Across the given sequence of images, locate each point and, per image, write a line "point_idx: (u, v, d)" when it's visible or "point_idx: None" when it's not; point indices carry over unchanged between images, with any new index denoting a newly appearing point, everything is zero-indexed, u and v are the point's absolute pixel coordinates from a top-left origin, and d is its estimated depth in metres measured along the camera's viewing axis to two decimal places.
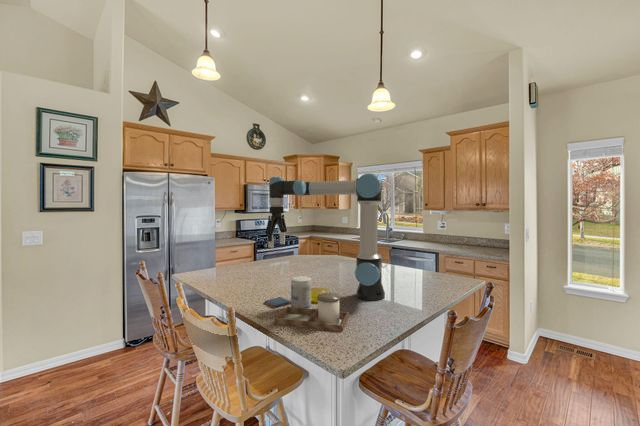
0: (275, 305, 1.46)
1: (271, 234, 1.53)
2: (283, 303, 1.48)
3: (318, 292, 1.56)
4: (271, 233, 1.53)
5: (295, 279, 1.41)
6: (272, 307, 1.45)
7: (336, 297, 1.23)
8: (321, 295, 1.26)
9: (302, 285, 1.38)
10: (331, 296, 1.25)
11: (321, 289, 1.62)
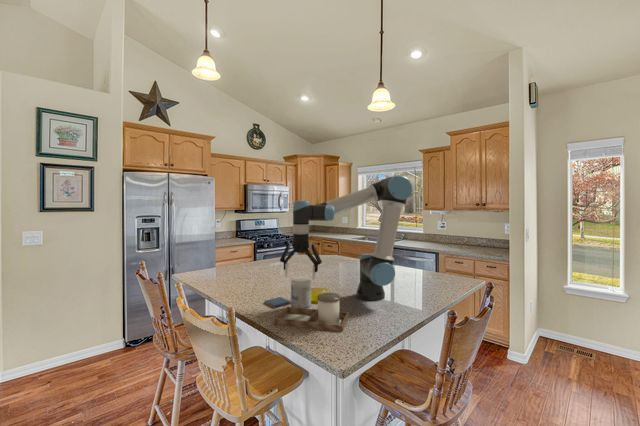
0: (275, 305, 1.45)
1: (283, 262, 1.44)
2: (283, 303, 1.48)
3: (318, 292, 1.57)
4: (283, 261, 1.44)
5: (295, 279, 1.41)
6: (272, 307, 1.45)
7: (336, 297, 1.23)
8: (321, 295, 1.26)
9: (302, 285, 1.38)
10: (331, 296, 1.25)
11: (321, 289, 1.62)
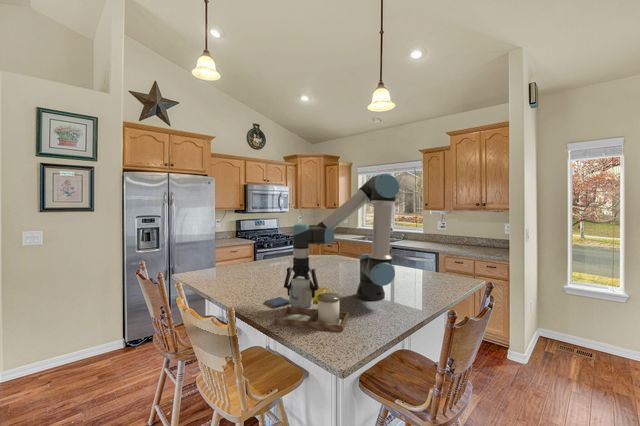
0: (275, 305, 1.45)
1: (287, 288, 1.44)
2: (283, 303, 1.48)
3: (319, 292, 1.57)
4: (287, 287, 1.44)
5: (295, 279, 1.41)
6: (272, 307, 1.45)
7: (336, 297, 1.23)
8: (321, 295, 1.26)
9: (302, 285, 1.38)
10: (331, 296, 1.25)
11: (322, 289, 1.62)
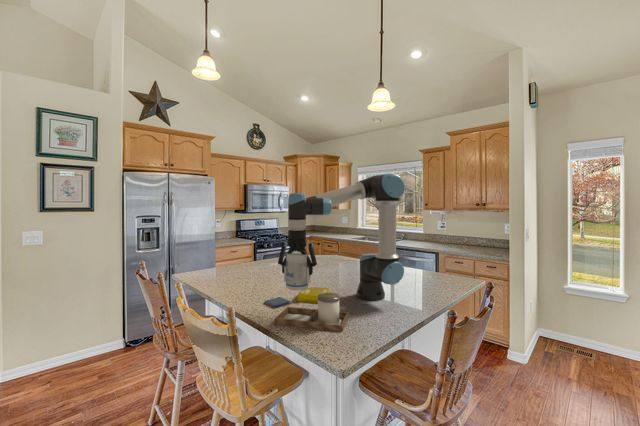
0: (275, 305, 1.45)
1: (282, 265, 1.29)
2: (283, 303, 1.48)
3: (320, 291, 1.58)
4: (281, 264, 1.29)
5: (290, 254, 1.26)
6: (272, 307, 1.45)
7: (336, 297, 1.23)
8: (321, 295, 1.26)
9: (298, 260, 1.24)
10: (331, 296, 1.25)
11: (323, 288, 1.63)
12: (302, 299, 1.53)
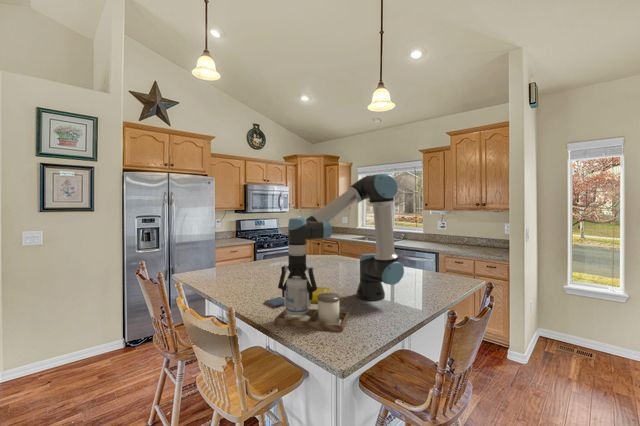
0: (275, 305, 1.45)
1: (282, 289, 1.29)
2: (283, 303, 1.48)
3: (320, 291, 1.58)
4: (281, 288, 1.29)
5: (290, 279, 1.27)
6: (272, 307, 1.45)
7: (336, 297, 1.23)
8: (321, 295, 1.26)
9: (298, 285, 1.24)
10: (331, 296, 1.25)
11: (323, 288, 1.63)
12: None
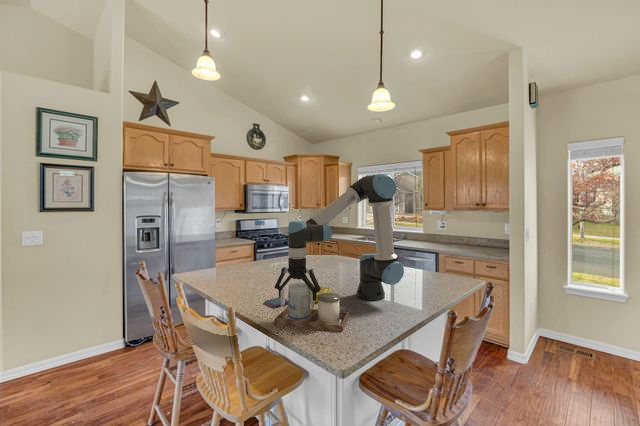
0: (275, 305, 1.45)
1: (278, 289, 1.30)
2: None
3: (321, 291, 1.59)
4: (278, 288, 1.30)
5: (292, 286, 1.27)
6: (272, 307, 1.45)
7: (336, 297, 1.23)
8: (321, 295, 1.26)
9: (300, 292, 1.24)
10: (331, 296, 1.25)
11: (324, 288, 1.64)
12: None
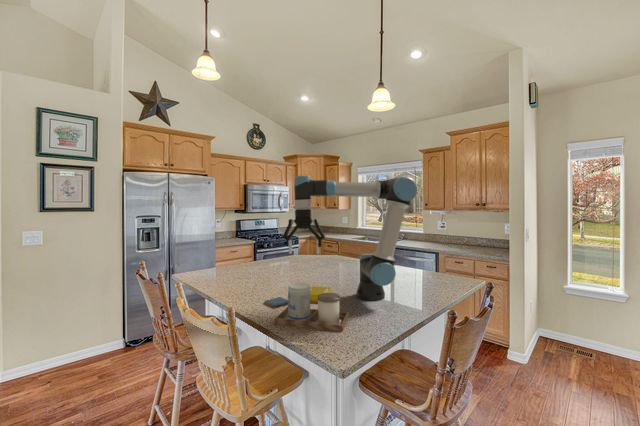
0: None
1: (286, 239, 1.43)
2: (283, 303, 1.48)
3: (321, 291, 1.59)
4: (286, 238, 1.43)
5: (292, 286, 1.27)
6: (272, 307, 1.45)
7: (336, 297, 1.23)
8: (321, 295, 1.26)
9: (300, 292, 1.24)
10: (331, 296, 1.25)
11: (324, 288, 1.64)
12: None
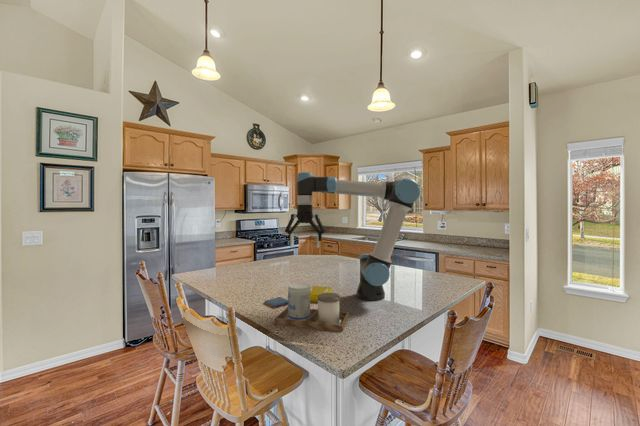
0: None
1: (288, 233, 1.49)
2: (283, 303, 1.48)
3: (322, 290, 1.59)
4: (288, 232, 1.49)
5: (292, 286, 1.27)
6: (272, 307, 1.45)
7: (336, 297, 1.23)
8: (321, 295, 1.26)
9: (300, 292, 1.24)
10: (331, 296, 1.25)
11: (325, 287, 1.65)
12: None
